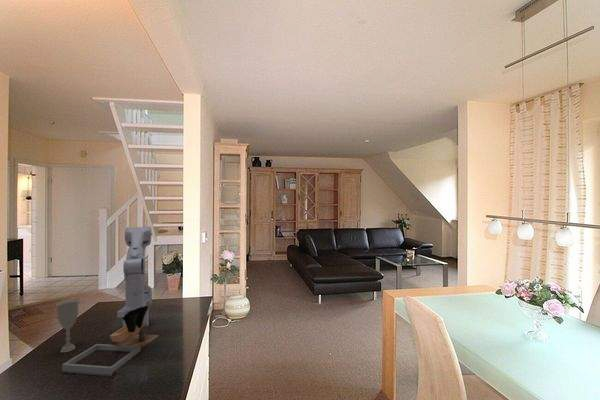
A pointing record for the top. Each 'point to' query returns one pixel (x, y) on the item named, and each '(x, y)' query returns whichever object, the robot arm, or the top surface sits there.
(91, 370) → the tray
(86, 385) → the top surface
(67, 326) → the chalice
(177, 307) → the top surface
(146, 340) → the tan wooden piece
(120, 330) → the tan flat frame
